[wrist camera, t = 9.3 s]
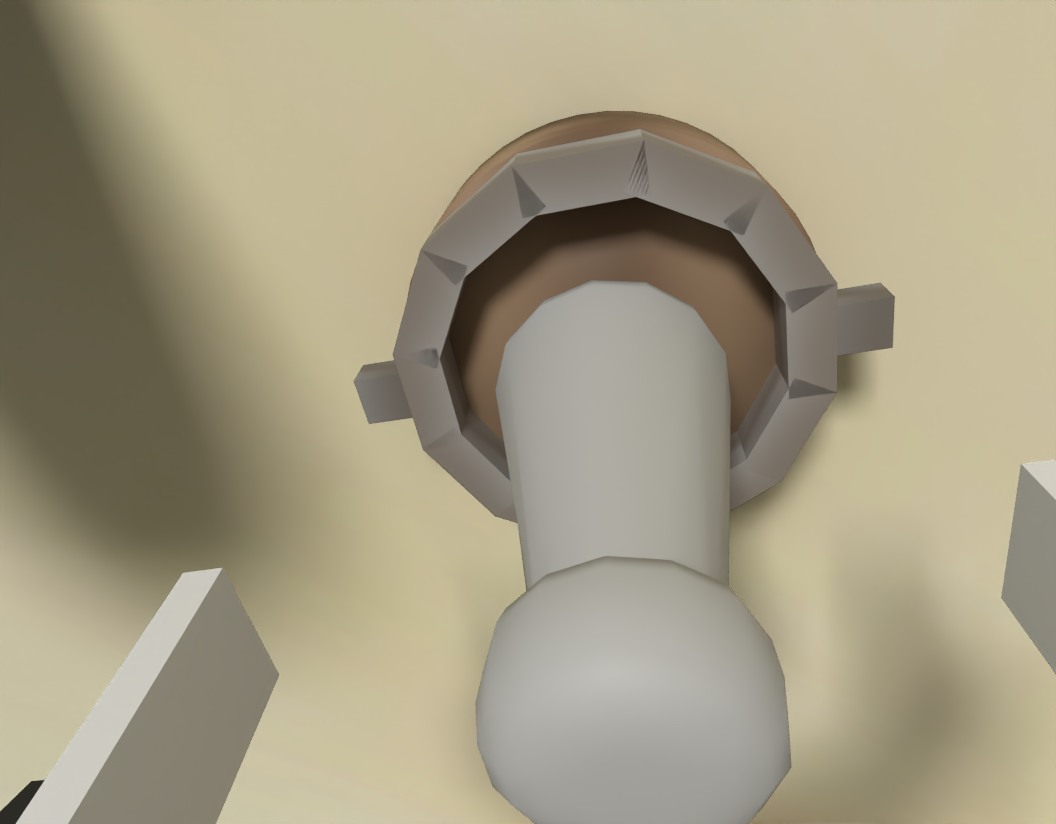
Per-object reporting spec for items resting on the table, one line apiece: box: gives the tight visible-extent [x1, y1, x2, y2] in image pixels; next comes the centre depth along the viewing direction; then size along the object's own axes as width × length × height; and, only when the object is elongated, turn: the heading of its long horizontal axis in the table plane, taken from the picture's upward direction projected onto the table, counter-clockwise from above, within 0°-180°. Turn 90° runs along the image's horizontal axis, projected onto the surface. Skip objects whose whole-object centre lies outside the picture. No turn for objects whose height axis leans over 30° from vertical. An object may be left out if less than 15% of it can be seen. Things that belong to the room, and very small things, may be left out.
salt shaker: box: [476, 280, 791, 824], centre depth 15 cm, size 6×6×13 cm
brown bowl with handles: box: [354, 111, 895, 523], centre depth 21 cm, size 14×12×4 cm
